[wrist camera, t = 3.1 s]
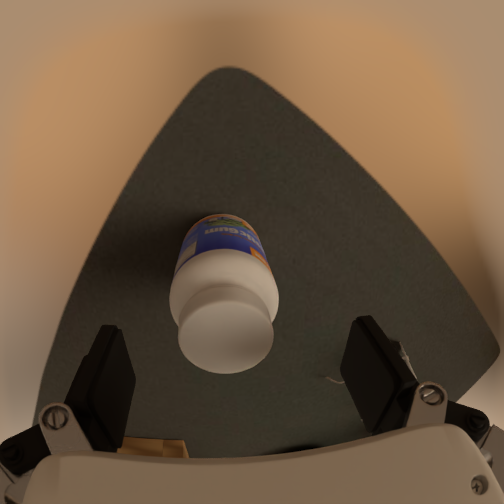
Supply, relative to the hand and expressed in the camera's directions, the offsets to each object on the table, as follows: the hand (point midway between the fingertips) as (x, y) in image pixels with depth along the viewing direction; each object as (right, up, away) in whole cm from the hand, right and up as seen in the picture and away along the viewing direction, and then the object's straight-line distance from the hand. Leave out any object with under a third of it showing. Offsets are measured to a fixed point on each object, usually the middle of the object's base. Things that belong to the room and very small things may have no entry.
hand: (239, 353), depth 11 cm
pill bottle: (-2, +4, +10) cm, 11 cm away
